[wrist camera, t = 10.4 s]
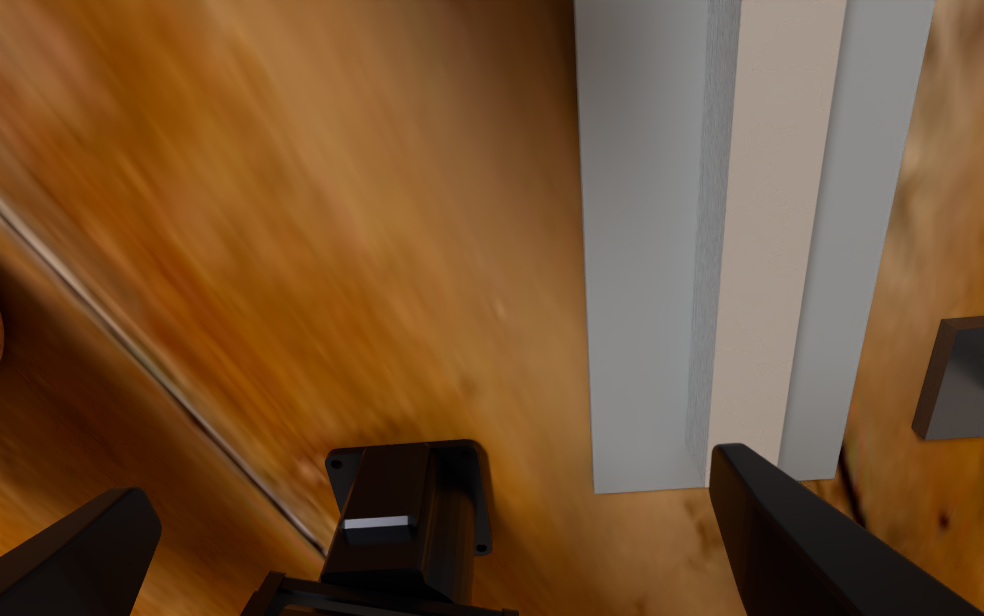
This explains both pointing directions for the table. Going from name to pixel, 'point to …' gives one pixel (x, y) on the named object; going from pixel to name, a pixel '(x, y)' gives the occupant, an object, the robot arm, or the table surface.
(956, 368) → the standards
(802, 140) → the rail
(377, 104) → the table surface
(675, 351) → the mat
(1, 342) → the wine bottle
